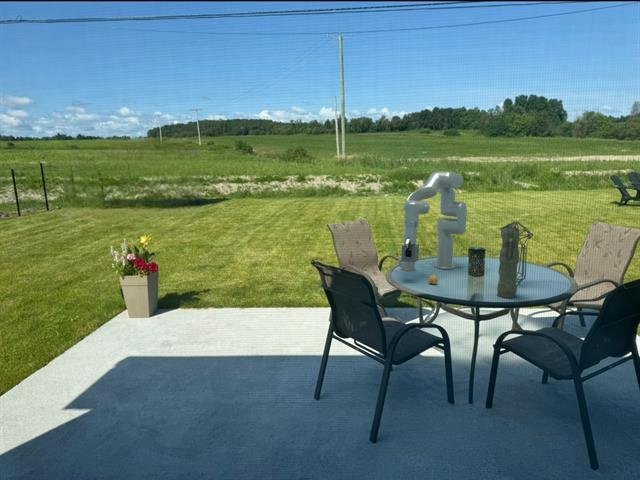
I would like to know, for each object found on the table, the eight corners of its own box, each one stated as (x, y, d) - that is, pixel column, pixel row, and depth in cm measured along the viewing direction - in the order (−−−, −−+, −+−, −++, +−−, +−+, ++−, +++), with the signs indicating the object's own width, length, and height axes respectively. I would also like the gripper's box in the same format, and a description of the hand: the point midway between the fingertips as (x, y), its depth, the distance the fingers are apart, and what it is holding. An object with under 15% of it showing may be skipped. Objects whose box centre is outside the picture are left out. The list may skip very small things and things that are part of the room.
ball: (429, 282, 252) (429, 273, 251) (438, 283, 250) (438, 274, 249) (427, 284, 248) (427, 275, 247) (436, 285, 246) (437, 276, 245)
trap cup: (405, 258, 258) (405, 243, 256) (418, 259, 254) (419, 244, 253) (401, 261, 251) (401, 245, 249) (415, 262, 248) (415, 246, 246)
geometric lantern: (523, 281, 256) (529, 220, 249) (528, 289, 241) (535, 224, 234) (494, 278, 260) (499, 218, 253) (496, 286, 245) (502, 223, 238)
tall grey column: (498, 298, 223) (503, 228, 217) (495, 292, 234) (500, 225, 228) (517, 300, 221) (523, 229, 214) (514, 293, 232) (519, 226, 226)
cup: (413, 271, 277) (414, 257, 275) (397, 270, 279) (398, 256, 278) (415, 269, 283) (415, 255, 282) (399, 268, 286) (399, 254, 285)
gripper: (408, 222, 258) (407, 252, 261) (400, 225, 243) (399, 257, 246) (421, 222, 255) (420, 253, 258) (414, 226, 240) (413, 259, 243)
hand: (410, 255), depth 252 cm, fingers closed on trap cup, 7 cm apart
